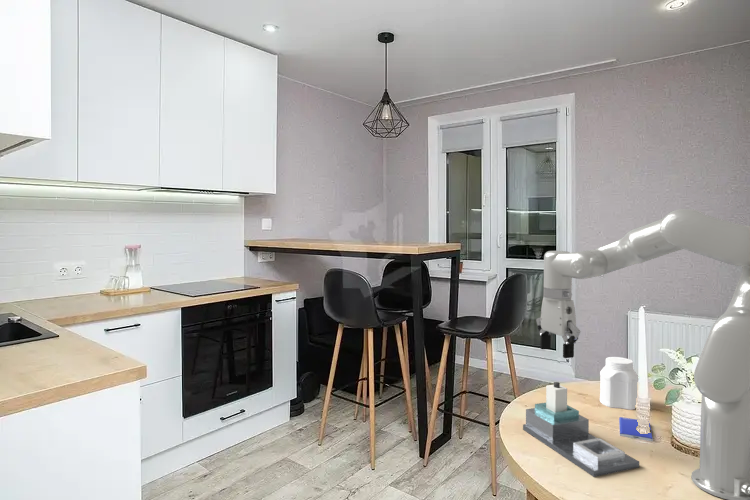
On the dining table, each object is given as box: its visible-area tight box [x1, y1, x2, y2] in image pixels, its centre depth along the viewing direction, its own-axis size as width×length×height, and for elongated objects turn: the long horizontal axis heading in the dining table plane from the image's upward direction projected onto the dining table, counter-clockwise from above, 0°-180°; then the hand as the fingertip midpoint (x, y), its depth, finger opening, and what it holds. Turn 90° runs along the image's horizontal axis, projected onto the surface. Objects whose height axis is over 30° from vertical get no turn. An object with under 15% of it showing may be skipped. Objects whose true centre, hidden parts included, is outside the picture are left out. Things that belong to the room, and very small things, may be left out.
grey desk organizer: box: [522, 402, 640, 478], centre depth 127 cm, size 28×14×8 cm, turn 18°
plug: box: [545, 381, 568, 413], centre depth 134 cm, size 4×4×9 cm
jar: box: [599, 356, 639, 411], centre depth 157 cm, size 12×10×15 cm
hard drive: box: [618, 416, 654, 442], centre depth 137 cm, size 2×8×12 cm
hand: (556, 353), depth 134 cm, fingers open, 9 cm apart
